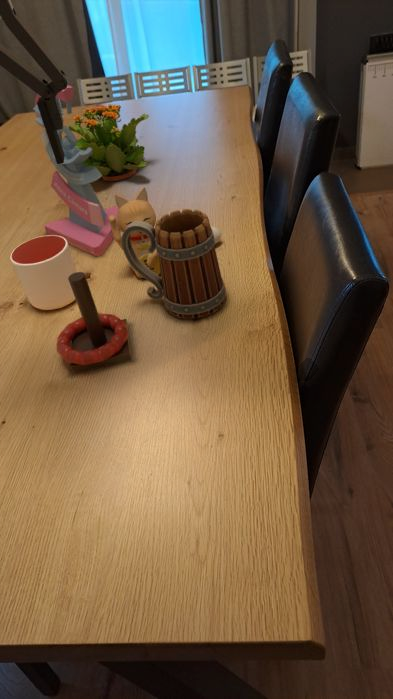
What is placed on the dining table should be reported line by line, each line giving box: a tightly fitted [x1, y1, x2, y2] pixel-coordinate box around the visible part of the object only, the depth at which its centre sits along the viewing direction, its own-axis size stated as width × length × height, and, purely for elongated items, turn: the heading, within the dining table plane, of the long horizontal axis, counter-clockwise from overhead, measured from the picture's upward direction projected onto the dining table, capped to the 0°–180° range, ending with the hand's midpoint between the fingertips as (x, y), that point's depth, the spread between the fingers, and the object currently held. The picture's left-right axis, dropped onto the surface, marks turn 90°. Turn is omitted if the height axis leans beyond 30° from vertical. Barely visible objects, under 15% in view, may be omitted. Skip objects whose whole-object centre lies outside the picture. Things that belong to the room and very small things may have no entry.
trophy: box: [32, 85, 121, 257], centre depth 101 cm, size 20×17×30 cm
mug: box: [121, 208, 226, 320], centre depth 80 cm, size 16×11×15 cm
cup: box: [9, 234, 79, 311], centre depth 89 cm, size 10×10×10 cm
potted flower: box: [66, 103, 150, 182], centre depth 128 cm, size 25×24×18 cm
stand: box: [68, 271, 132, 374], centre depth 74 cm, size 9×9×14 cm
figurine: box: [109, 187, 161, 279], centre depth 90 cm, size 9×10×15 cm
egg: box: [210, 225, 223, 246], centre depth 97 cm, size 4×6×4 cm, turn 98°
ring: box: [56, 312, 128, 365], centre depth 77 cm, size 11×11×2 cm
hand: (3, 172), depth 58 cm, fingers open, 13 cm apart
